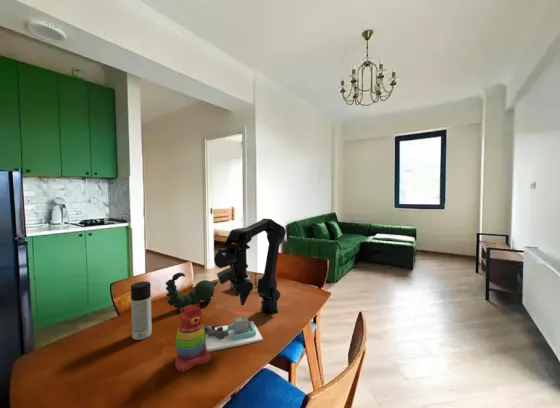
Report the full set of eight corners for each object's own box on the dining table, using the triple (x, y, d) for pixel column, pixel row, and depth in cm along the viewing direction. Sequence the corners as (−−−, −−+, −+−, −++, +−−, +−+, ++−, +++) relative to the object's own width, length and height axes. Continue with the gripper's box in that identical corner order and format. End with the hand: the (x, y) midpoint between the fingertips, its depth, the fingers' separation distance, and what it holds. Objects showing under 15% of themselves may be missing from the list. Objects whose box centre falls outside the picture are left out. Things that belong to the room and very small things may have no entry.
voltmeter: (228, 292, 143) (227, 274, 143) (231, 285, 155) (231, 268, 154) (277, 293, 143) (277, 274, 143) (277, 285, 155) (277, 268, 154)
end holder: (250, 324, 108) (250, 321, 108) (256, 335, 100) (256, 331, 100) (227, 328, 105) (227, 325, 105) (231, 340, 97) (231, 336, 97)
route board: (252, 322, 111) (252, 315, 111) (262, 340, 98) (262, 332, 98) (203, 331, 104) (203, 323, 104) (206, 352, 91) (206, 343, 91)
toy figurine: (174, 321, 116) (224, 300, 132) (169, 279, 113) (221, 263, 130) (166, 313, 122) (215, 294, 139) (161, 274, 120) (211, 259, 137)
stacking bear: (178, 374, 80) (178, 316, 79) (170, 357, 88) (169, 304, 87) (213, 360, 86) (212, 307, 85) (202, 345, 95) (201, 296, 94)
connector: (246, 328, 105) (246, 315, 105) (248, 333, 101) (248, 320, 101) (233, 330, 103) (233, 317, 103) (235, 336, 99) (235, 322, 99)
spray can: (155, 332, 103) (154, 282, 102) (141, 342, 97) (140, 288, 95) (142, 329, 105) (141, 280, 104) (127, 338, 99) (126, 285, 98)
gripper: (214, 257, 110) (215, 294, 111) (222, 271, 93) (223, 314, 94) (241, 255, 114) (241, 290, 115) (253, 267, 97) (253, 309, 98)
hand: (239, 300), depth 105 cm, fingers open, 9 cm apart
